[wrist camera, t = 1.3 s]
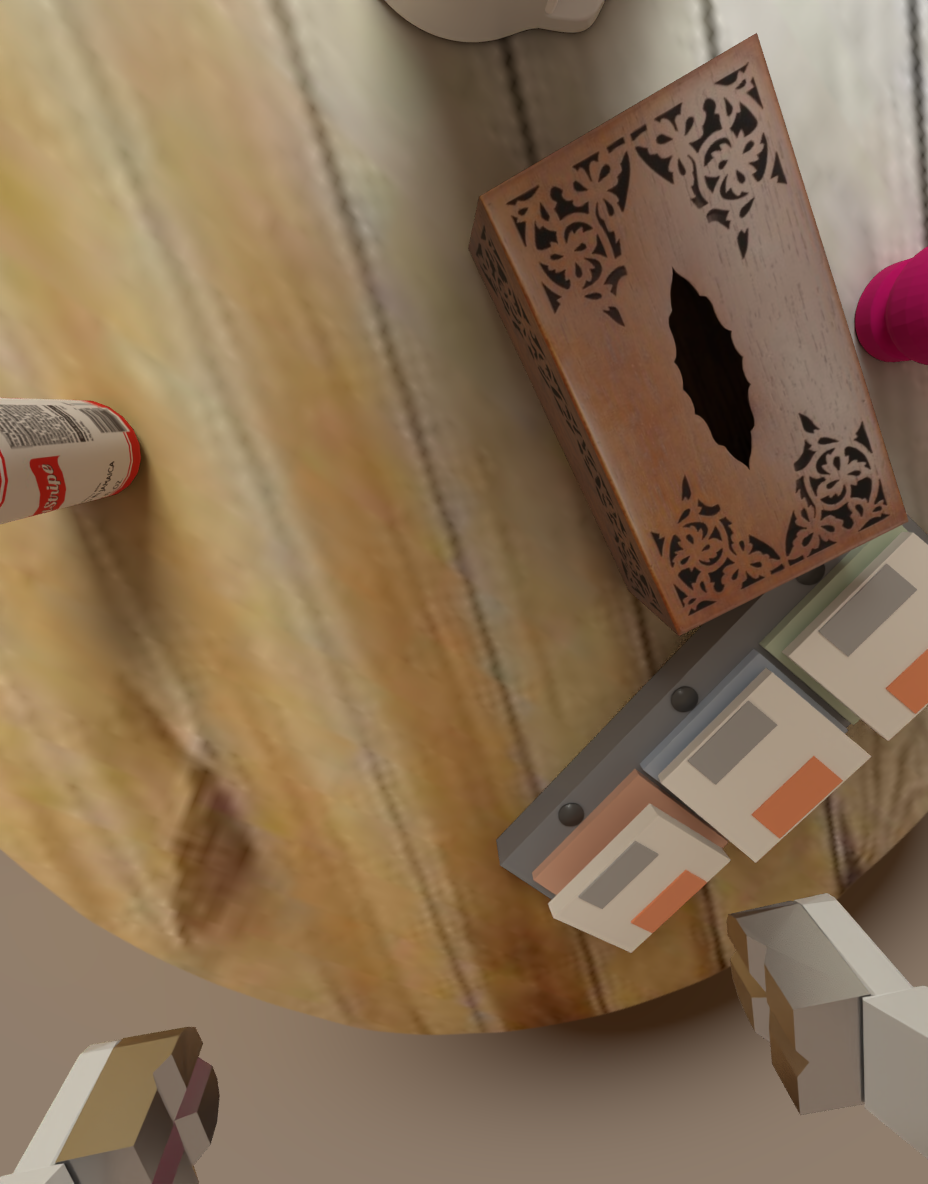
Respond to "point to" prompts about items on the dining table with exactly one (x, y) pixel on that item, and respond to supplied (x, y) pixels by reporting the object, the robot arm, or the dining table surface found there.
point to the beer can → (61, 455)
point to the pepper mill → (896, 312)
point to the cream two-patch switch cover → (875, 639)
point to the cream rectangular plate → (762, 765)
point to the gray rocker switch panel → (676, 725)
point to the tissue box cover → (692, 343)
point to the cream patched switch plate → (639, 880)
